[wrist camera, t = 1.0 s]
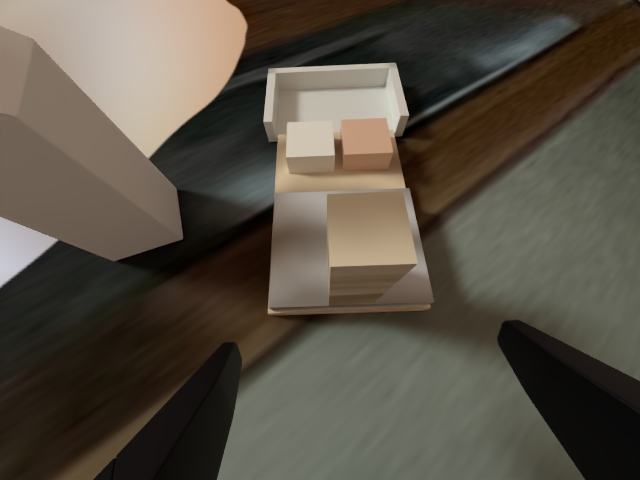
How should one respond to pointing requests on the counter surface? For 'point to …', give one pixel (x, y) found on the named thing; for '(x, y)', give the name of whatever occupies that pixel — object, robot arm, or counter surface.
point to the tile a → (310, 147)
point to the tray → (334, 96)
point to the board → (338, 182)
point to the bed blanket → (347, 251)
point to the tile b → (365, 144)
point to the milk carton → (74, 163)
